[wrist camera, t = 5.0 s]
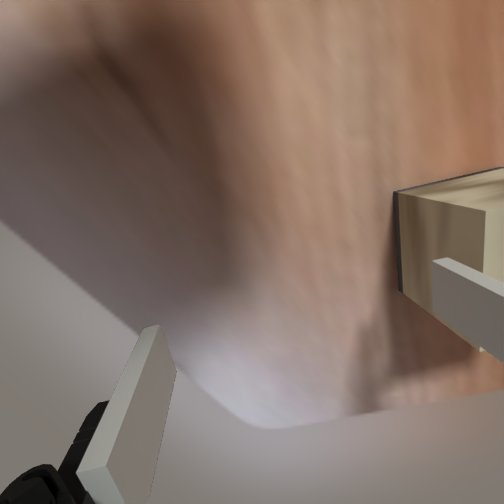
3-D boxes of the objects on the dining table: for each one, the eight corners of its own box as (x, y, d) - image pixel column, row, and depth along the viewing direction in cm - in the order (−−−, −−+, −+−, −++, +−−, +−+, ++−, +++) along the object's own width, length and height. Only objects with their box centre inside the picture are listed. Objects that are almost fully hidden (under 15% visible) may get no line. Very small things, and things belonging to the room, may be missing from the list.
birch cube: (398, 289, 21) (482, 353, 14) (392, 191, 19) (488, 211, 12) (493, 267, 21) (621, 319, 14) (499, 167, 19) (653, 173, 12)
